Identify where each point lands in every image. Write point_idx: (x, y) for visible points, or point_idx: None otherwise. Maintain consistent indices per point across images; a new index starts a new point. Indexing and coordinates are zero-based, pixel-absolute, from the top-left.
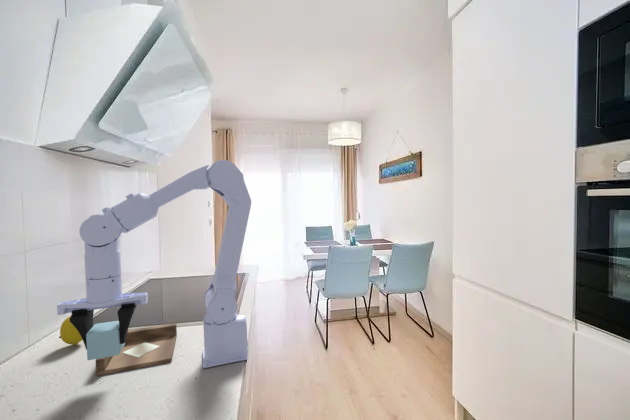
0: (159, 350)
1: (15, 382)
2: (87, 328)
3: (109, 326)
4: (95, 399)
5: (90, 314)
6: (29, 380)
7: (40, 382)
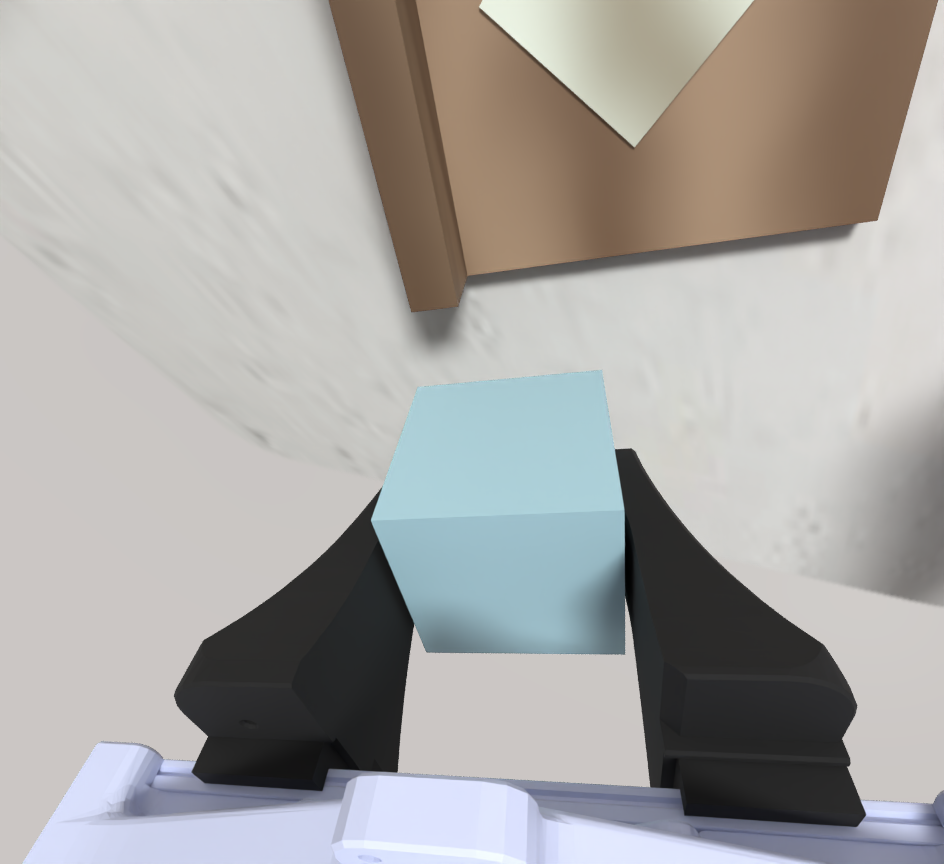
0: (800, 41)
1: (34, 229)
2: (401, 643)
3: (538, 600)
4: None
5: (355, 693)
6: (89, 226)
7: (171, 263)
